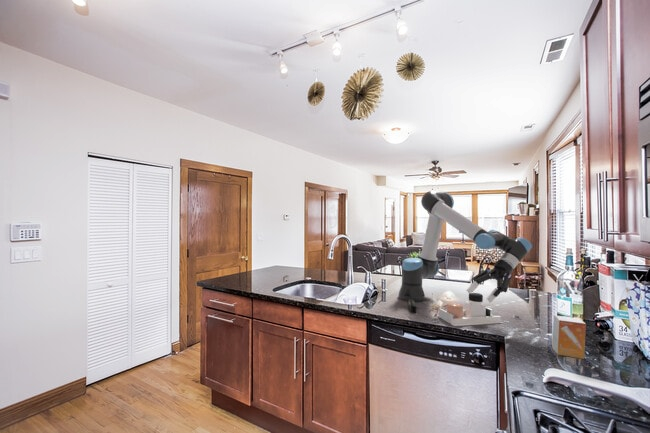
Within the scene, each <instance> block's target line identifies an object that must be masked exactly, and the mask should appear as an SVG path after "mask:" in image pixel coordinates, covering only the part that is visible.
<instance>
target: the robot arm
mask: <svg viewBox="0 0 650 433" xmlns="http://www.w3.org/2000/svg"><path fill="white" fill-rule="evenodd" d="M420 203H421V206H422V207H423V209H424V210H425V211H427V214H428V215H429V216H428V220H427V225H426V226H427V227H426V231H425V233H424V234H425V236H424V240H423V242H422V243H423V245H422V249H421V252H420V253H419V254H418V255H417V257H409V258H405V259H403V261H402V265H401V286H400V289H399V291H398V295H397V296H398V298H399V300H402V301H406V302H408V301H409V299H413V300H414V303H417V302H418V303H420V302H424V301H425V300H426V295H425V292H424V288H423V280H426V279H431V278H433V277H435V276H437V275H438V274H439V271H440V265H439V262H438V260H439V258H438V257H437V253H438V248H439V243H440V238H441V233H442V230H443V226H444V222H446V223H447V224H448V225H449V226H452V228H454V229H456V230H457V231H458V232H460V233H461V234H463V235H464V236H465V237H468V239H470V240H472V241H473V242H474V243H475V245H476V247H477V248H479V249H481V250H486V251H487V250H491V249H499V250H501V251H503V252H504V253H503V254H502V255H501V256H500V257H499V259H498V260H497V261H496V262H495V263H494V264H493V268H492V269H491V268H490V267H489V266H488V267H486V268H485V269H484V270H483V271H481V272H479V273H478V274H477V275H475V276H473V277H472V278H471V279H472V282H471V284H470V285H469V287H468V288H467V289H466V290H465V291H466V292H467V293H468V294H469V293H474V291H475V290H476V289H477V288H478V287H479V286H480V285H479V284H481V283H484V282H486V281H488V280H492V279H493V280H495V281H496V285H497V286H496V287H494V288H493V290H492V291H491V292H490V293H489V295H487V297H486V300H487V301H488V302H489V303H492V302H493V301H494V300H495V299H496V298H497V297H499V296H500V294H501V293H507V292H508V289H509V285H510V282H511V279H512V278H513V276H512V274H511V273H512V272H513V270H515V268H516V267H517V266H518V265H519V264H520V262H521V261H522V260H523V259H524V258H525V257H526V255H528V254H529V252H530V251H531V249H532V248H533V247H532V246H533V244H532V243H531V242H530V241H529V240H528V239H527V238H524V237H517V238H515V239H514V238H512V237H509V236H507V235H506V234H503V233H502V232H500V231H498V230H495V229H490V230H489V231H487V230H486V229H484V228H483V227H481V226H479V225H478V224H477V223H475V222H473V221H472V220H470V219H469V218H467V217H465V216H464V215H463V214H462V213H459V212H458V211H457V210H455V209H453V207H454V203H455V201H454V198H453V196H452V195H451V194H450V193H448V192H445V191H435V190H430V191H427V192H425V193H424V194H423V195H422V197H421V202H420Z"/></svg>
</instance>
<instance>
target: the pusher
mask: <svg viewBox="0 0 650 433" xmlns="http://www.w3.org/2000/svg"><path fill="white" fill-rule="evenodd" d="M486 316H493V309H492V308H489V307H487V306H486Z"/></svg>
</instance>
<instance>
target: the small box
mask: <svg viewBox="0 0 650 433" xmlns="http://www.w3.org/2000/svg"><path fill="white" fill-rule="evenodd" d="M586 328H587V324H586V322H584V321H583V320H582V319H581V318H579V317H571V316H564V315H555V314H554V315H553V322H552V345H551V347H552V348H551V349H553V351H554V352H555V354H557V355H558V356H563V357H570V358H575V359H582V360H584V359H585V349H586Z"/></svg>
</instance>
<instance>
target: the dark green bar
mask: <svg viewBox="0 0 650 433" xmlns="http://www.w3.org/2000/svg"><path fill="white" fill-rule="evenodd" d="M407 302H408V303H407V304H408V305H407V308H408V310H409V312H410V313H412V314H417V306H416V304H415V303H416V302H414V300H413V299H409V301H407Z"/></svg>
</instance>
